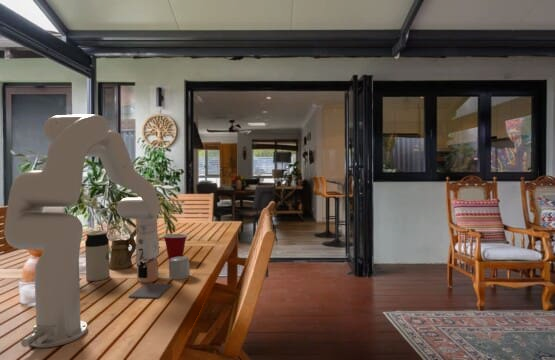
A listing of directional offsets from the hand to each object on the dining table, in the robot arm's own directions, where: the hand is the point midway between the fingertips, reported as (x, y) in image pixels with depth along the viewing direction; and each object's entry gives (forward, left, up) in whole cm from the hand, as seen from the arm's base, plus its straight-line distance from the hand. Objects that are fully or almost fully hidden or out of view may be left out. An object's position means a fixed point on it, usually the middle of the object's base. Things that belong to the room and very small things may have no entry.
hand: (147, 273), depth 129 cm
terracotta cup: (0, 0, -2) cm, 2 cm away
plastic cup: (+26, -1, -2) cm, 26 cm away
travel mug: (0, +20, -2) cm, 20 cm away
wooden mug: (+15, +17, -2) cm, 23 cm away
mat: (-12, -7, -2) cm, 14 cm away
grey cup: (+4, -11, -2) cm, 12 cm away
